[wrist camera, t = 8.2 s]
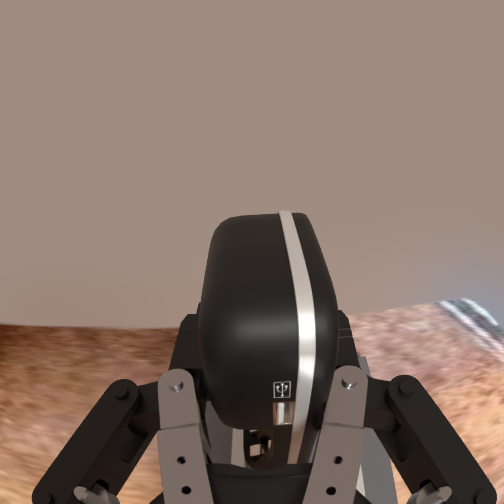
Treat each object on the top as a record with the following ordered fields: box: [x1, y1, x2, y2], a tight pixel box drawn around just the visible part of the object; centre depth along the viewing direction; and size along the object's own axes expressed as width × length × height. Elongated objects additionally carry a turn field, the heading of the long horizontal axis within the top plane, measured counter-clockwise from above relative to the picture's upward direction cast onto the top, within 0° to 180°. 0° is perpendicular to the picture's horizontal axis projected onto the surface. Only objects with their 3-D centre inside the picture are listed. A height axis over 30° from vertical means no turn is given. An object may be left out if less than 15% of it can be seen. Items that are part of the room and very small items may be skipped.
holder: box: [205, 356, 398, 504], centre depth 22 cm, size 16×20×3 cm
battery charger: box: [198, 210, 340, 471], centre depth 13 cm, size 7×4×11 cm, turn 1°
